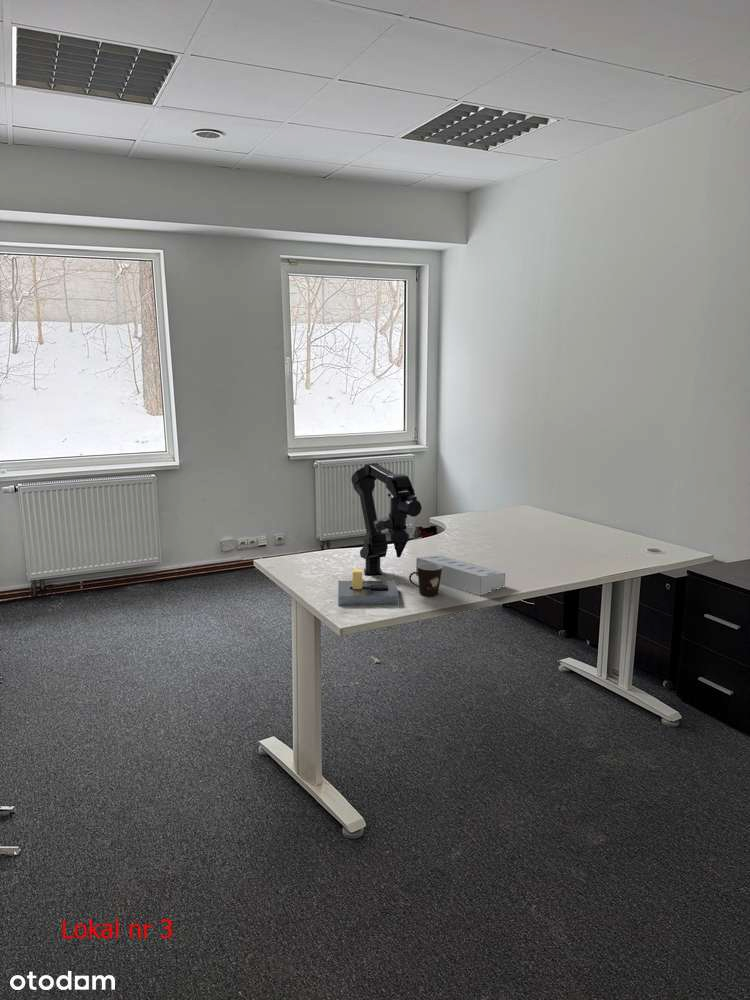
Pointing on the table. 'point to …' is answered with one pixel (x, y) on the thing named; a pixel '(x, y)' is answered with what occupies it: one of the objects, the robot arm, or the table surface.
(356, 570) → the peg
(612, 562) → the table surface
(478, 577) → the white power strip
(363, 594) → the keyhole plate
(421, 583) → the coffee mug
